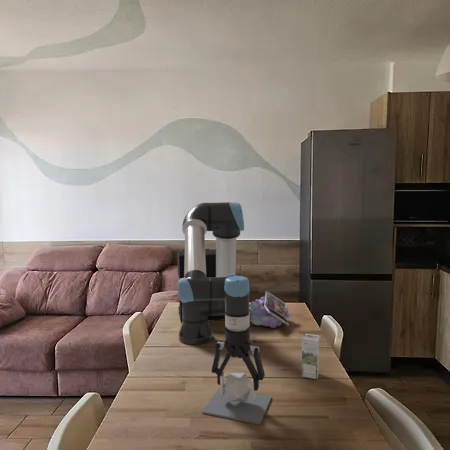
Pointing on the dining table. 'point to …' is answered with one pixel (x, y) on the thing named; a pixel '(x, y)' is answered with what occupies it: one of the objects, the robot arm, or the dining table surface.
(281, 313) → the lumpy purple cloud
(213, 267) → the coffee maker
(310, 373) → the syrup box
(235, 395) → the die
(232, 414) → the mat
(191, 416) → the dining table surface
